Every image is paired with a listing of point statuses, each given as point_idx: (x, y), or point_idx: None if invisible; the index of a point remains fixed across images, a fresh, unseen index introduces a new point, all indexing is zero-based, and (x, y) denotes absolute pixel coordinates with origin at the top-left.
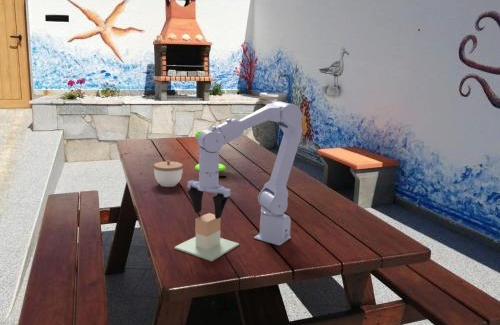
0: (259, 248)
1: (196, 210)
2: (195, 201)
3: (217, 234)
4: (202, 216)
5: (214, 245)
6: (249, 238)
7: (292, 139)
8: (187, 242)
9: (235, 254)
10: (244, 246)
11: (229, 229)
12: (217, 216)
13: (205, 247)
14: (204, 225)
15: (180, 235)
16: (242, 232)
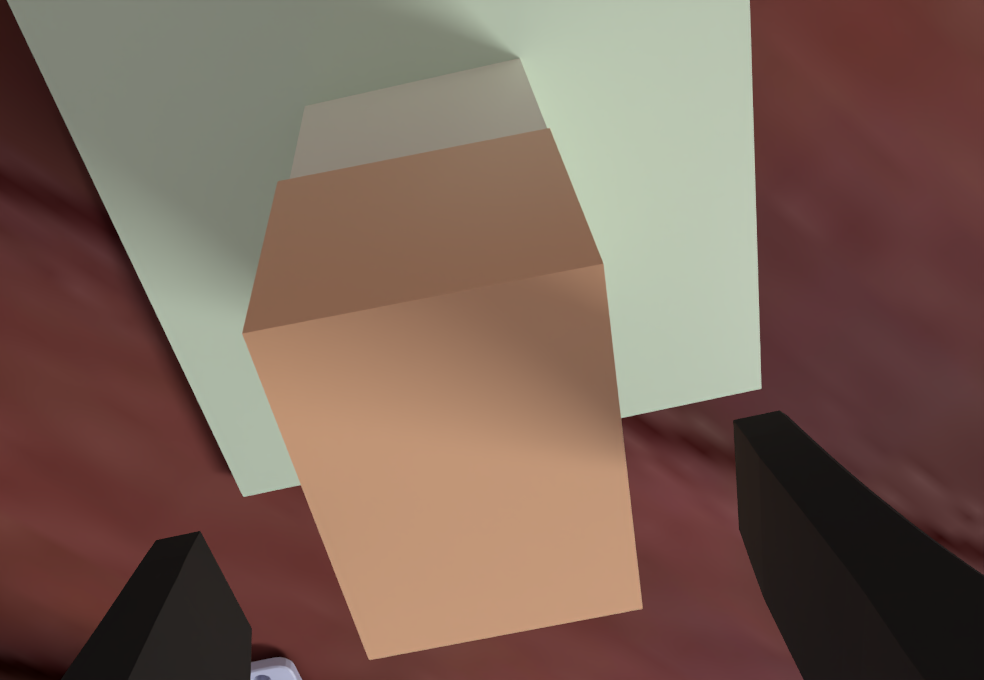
0: (55, 573)
1: (757, 458)
2: (883, 641)
3: None
4: (588, 439)
5: None
6: (325, 629)
7: None
8: (703, 53)
9: (45, 319)
10: (186, 502)
11: (630, 615)
12: (133, 587)
13: (337, 110)
14: (327, 267)
15: (968, 154)
16: (484, 655)
